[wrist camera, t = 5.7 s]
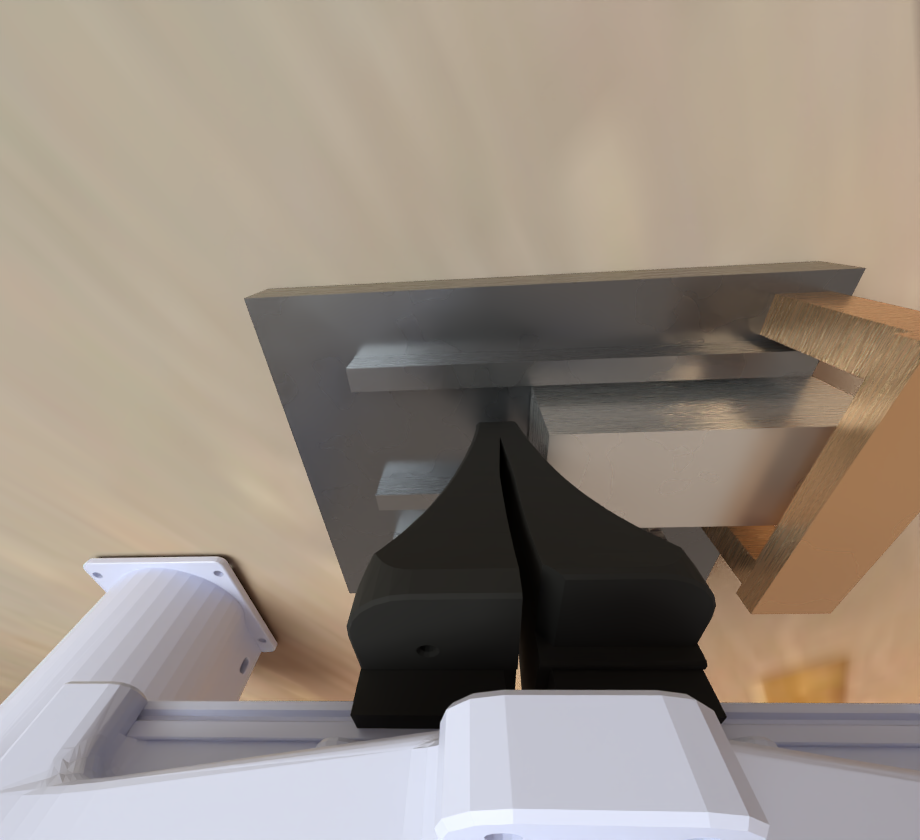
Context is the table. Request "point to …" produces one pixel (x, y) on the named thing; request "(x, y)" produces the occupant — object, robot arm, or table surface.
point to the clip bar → (688, 445)
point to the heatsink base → (588, 362)
